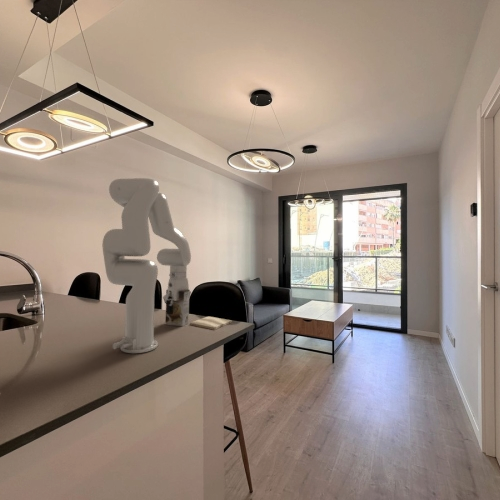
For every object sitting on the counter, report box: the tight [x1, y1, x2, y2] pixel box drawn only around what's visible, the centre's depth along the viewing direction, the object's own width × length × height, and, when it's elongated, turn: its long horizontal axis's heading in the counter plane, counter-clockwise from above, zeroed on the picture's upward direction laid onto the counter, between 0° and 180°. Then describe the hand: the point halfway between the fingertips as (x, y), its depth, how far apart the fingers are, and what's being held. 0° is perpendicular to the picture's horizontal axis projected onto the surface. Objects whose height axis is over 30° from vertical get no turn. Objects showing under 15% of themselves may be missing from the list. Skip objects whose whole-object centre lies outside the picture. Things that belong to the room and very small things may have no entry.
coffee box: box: [164, 289, 191, 327], centre depth 135 cm, size 9×6×16 cm
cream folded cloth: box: [189, 316, 233, 330], centre depth 136 cm, size 14×14×1 cm
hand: (177, 311), depth 135 cm, fingers open, 9 cm apart
